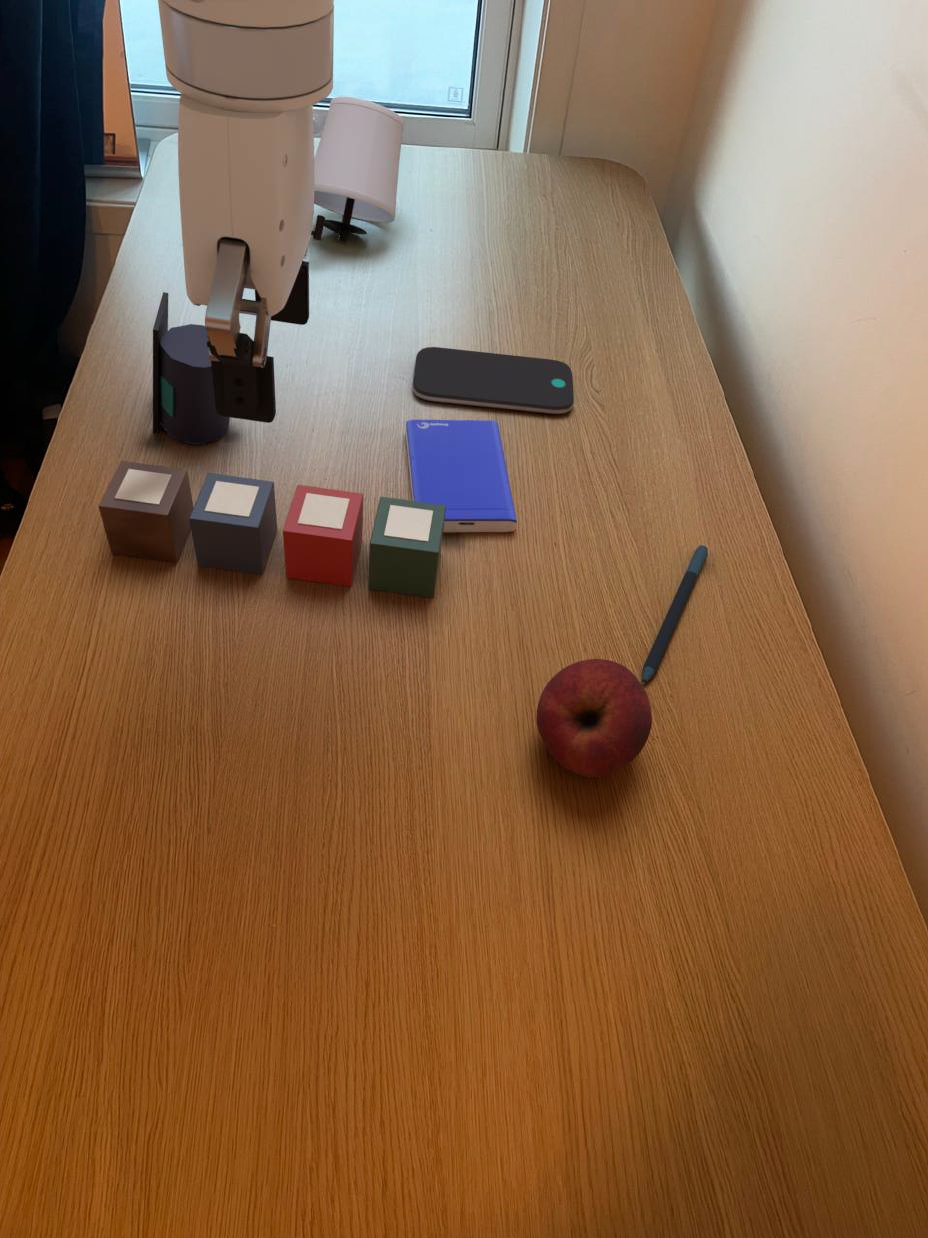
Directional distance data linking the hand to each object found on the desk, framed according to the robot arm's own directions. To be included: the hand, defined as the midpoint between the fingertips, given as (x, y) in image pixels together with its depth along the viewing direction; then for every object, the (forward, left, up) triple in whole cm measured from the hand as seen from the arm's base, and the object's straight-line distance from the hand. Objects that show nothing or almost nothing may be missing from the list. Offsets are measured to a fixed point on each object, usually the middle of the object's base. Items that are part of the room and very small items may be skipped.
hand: (265, 365), depth 55 cm
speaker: (-11, +17, -20) cm, 29 cm away
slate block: (-4, +3, -20) cm, 20 cm away
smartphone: (+14, +28, -20) cm, 37 cm away
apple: (+23, -11, -20) cm, 32 cm away
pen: (+30, +3, -20) cm, 36 cm away
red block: (+3, +3, -20) cm, 20 cm away
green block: (+9, +3, -20) cm, 22 cm away
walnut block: (-11, +3, -20) cm, 23 cm away
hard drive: (+12, +14, -20) cm, 27 cm away
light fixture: (-7, +52, -20) cm, 56 cm away
